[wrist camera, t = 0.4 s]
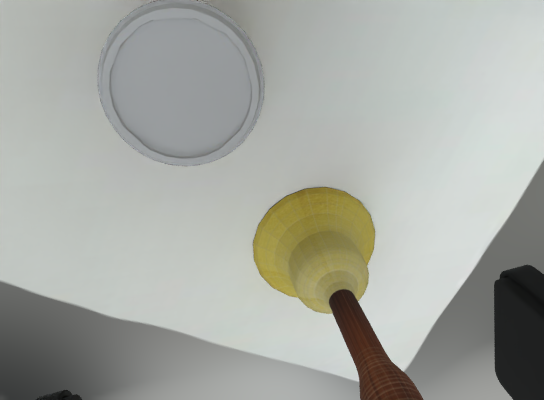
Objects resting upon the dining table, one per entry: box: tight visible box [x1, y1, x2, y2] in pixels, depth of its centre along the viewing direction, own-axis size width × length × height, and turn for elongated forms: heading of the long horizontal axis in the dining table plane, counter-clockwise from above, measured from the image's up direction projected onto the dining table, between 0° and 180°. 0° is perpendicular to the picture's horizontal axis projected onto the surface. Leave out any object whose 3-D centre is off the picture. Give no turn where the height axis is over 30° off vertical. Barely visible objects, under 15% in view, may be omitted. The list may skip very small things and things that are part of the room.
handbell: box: [253, 187, 423, 400], centre depth 32 cm, size 12×12×25 cm
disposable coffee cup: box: [98, 0, 264, 166], centre depth 30 cm, size 10×10×12 cm
